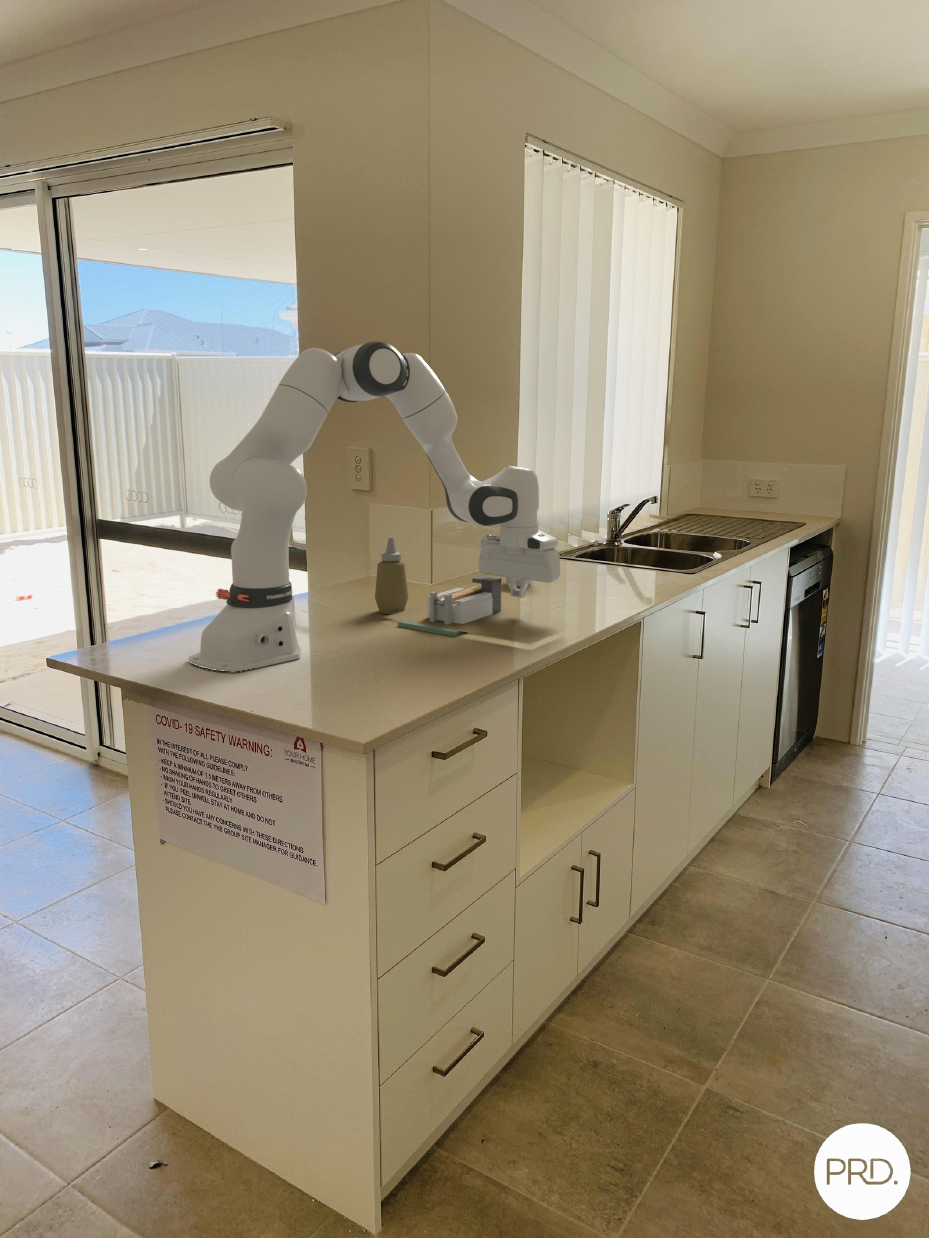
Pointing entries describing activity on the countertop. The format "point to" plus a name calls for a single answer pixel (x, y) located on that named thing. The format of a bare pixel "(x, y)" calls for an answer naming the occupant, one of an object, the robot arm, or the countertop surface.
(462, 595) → the strap
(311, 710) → the countertop surface
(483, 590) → the block
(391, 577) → the squeeze bottle
